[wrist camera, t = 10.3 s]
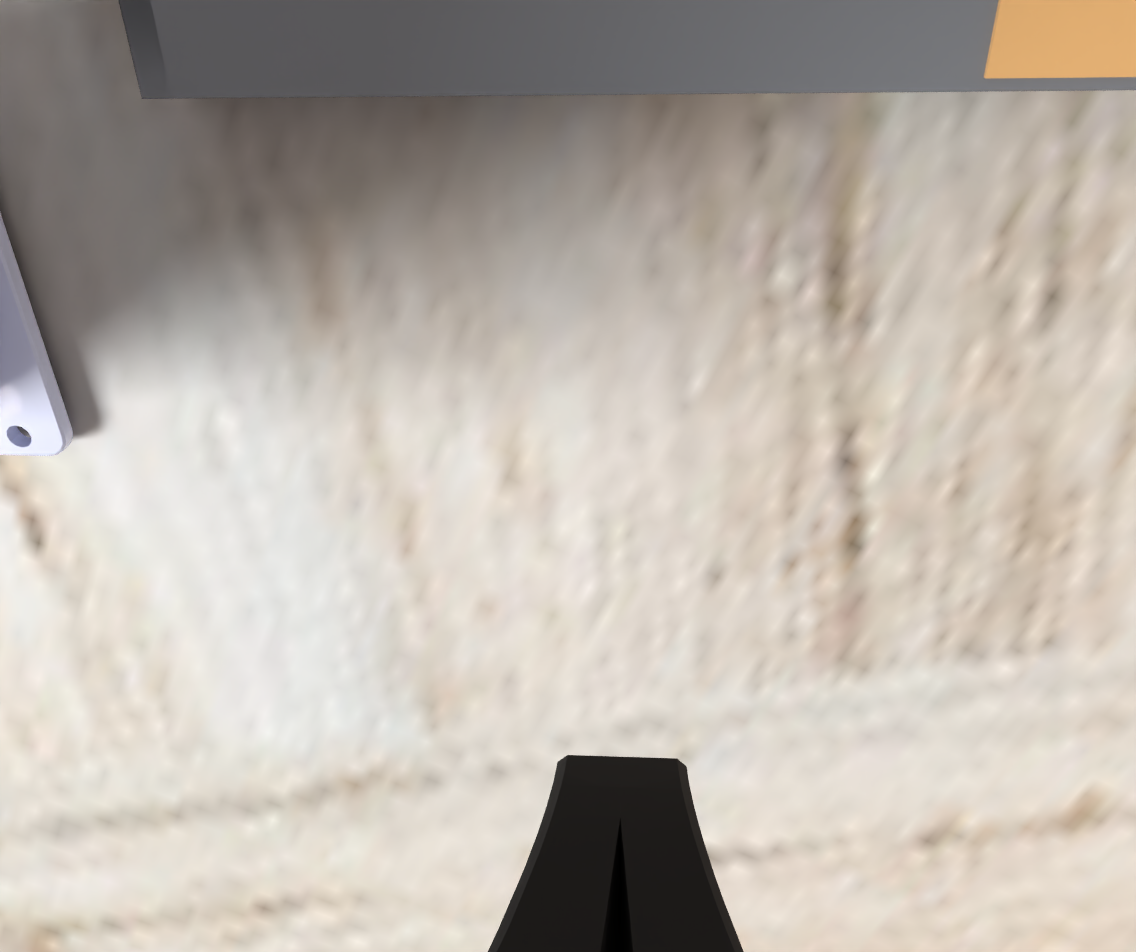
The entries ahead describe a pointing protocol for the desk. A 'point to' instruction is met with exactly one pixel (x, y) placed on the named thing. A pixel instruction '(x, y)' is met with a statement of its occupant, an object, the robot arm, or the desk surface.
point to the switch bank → (625, 47)
